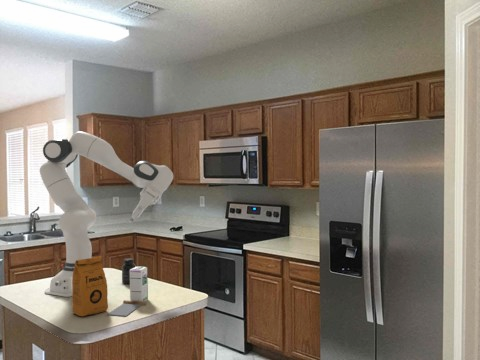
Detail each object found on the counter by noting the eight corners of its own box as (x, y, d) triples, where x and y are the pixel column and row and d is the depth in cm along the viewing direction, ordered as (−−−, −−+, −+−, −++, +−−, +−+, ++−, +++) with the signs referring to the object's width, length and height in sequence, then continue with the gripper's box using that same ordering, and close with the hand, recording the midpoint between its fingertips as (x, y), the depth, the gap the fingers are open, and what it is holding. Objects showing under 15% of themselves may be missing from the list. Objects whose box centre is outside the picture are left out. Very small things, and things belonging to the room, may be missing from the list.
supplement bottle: (138, 282, 207) (138, 259, 206) (126, 285, 202) (126, 261, 201) (131, 280, 211) (131, 257, 211) (119, 283, 206) (119, 259, 206)
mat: (107, 315, 160) (107, 314, 160) (123, 304, 173) (123, 303, 173) (125, 316, 158) (125, 315, 158) (140, 305, 171) (140, 304, 171)
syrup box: (142, 303, 174) (142, 269, 174) (129, 302, 175) (129, 269, 175) (148, 299, 179) (147, 266, 179) (135, 298, 181) (135, 266, 180)
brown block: (123, 303, 174) (123, 300, 174) (124, 302, 175) (124, 300, 175) (145, 305, 172) (145, 302, 172) (146, 304, 173) (146, 301, 173)
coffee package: (110, 312, 164) (110, 257, 163) (79, 320, 155) (79, 262, 155) (100, 306, 171) (99, 253, 170) (69, 313, 162) (69, 258, 162)
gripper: (140, 197, 199) (123, 220, 192) (147, 186, 180) (128, 210, 174) (151, 205, 199) (134, 227, 193) (159, 194, 181) (141, 219, 175)
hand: (131, 219), depth 184 cm, fingers open, 8 cm apart
